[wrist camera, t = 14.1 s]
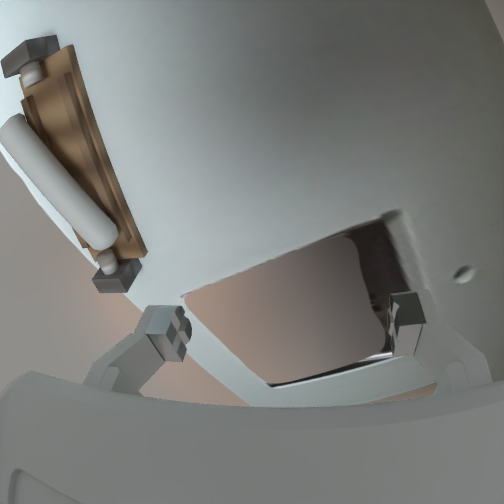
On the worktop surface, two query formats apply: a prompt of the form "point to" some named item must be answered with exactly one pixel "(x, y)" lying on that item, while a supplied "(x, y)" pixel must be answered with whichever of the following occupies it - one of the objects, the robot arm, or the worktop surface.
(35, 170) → the tube
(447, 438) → the robot arm
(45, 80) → the shaft bed
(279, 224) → the worktop surface
